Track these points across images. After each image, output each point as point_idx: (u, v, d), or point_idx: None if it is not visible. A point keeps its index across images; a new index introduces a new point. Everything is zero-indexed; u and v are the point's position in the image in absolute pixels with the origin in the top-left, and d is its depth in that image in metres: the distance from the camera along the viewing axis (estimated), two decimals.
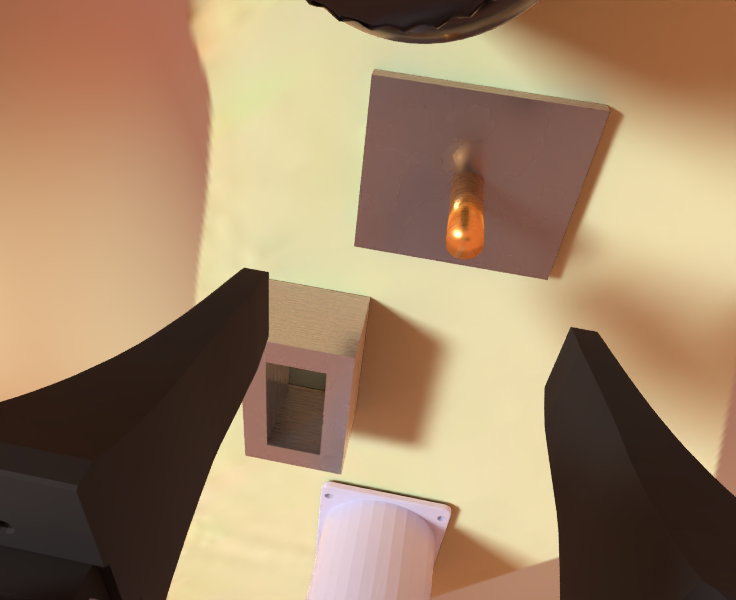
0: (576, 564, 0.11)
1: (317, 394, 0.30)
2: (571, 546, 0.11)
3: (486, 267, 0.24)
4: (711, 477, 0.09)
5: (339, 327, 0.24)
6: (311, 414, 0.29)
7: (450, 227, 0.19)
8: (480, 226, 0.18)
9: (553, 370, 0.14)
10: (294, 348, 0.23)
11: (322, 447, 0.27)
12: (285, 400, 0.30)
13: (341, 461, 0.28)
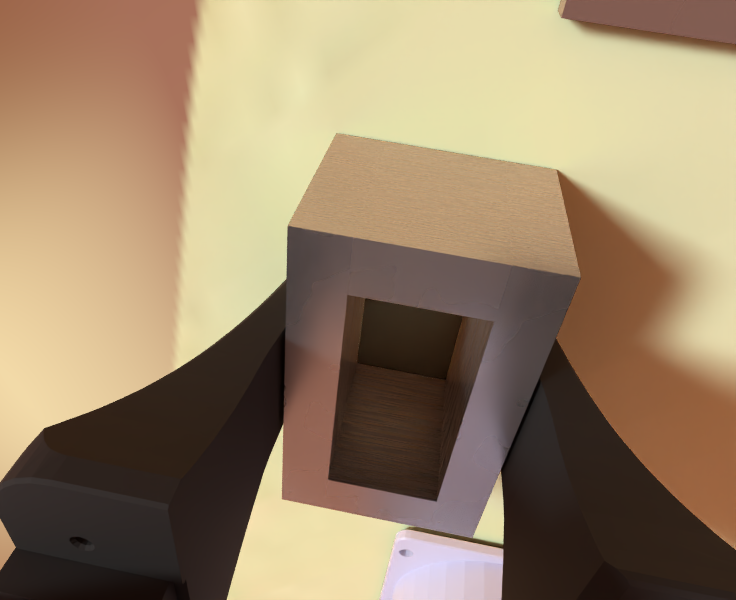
0: (515, 551, 0.11)
1: (411, 381, 0.16)
2: (513, 534, 0.11)
3: None
4: (639, 463, 0.09)
5: (516, 217, 0.11)
6: (406, 418, 0.15)
7: None
8: None
9: None
10: (424, 256, 0.09)
11: (445, 487, 0.13)
12: (354, 392, 0.16)
13: (479, 514, 0.14)
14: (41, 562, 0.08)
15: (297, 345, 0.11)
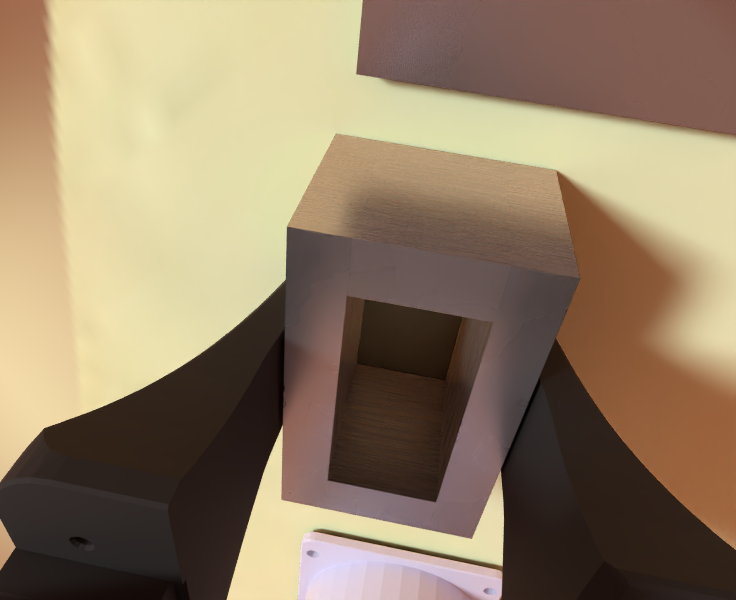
0: (515, 551, 0.11)
1: (410, 382, 0.16)
2: (512, 534, 0.11)
3: (643, 115, 0.11)
4: (638, 463, 0.09)
5: (515, 217, 0.11)
6: (405, 419, 0.15)
7: None
8: None
9: None
10: (424, 257, 0.09)
11: (444, 487, 0.13)
12: (353, 392, 0.16)
13: (479, 515, 0.14)
14: (41, 562, 0.08)
15: (296, 346, 0.11)
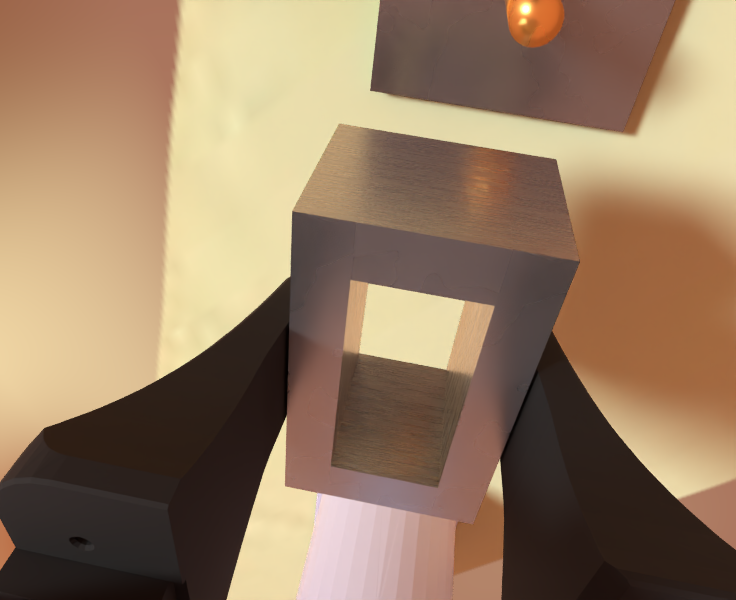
0: (515, 551, 0.11)
1: (412, 371, 0.17)
2: (513, 534, 0.11)
3: (542, 115, 0.18)
4: (639, 463, 0.09)
5: (516, 204, 0.11)
6: (407, 407, 0.16)
7: None
8: None
9: None
10: (426, 241, 0.10)
11: (446, 473, 0.13)
12: (356, 381, 0.16)
13: (480, 500, 0.14)
14: (41, 562, 0.08)
15: (301, 331, 0.11)
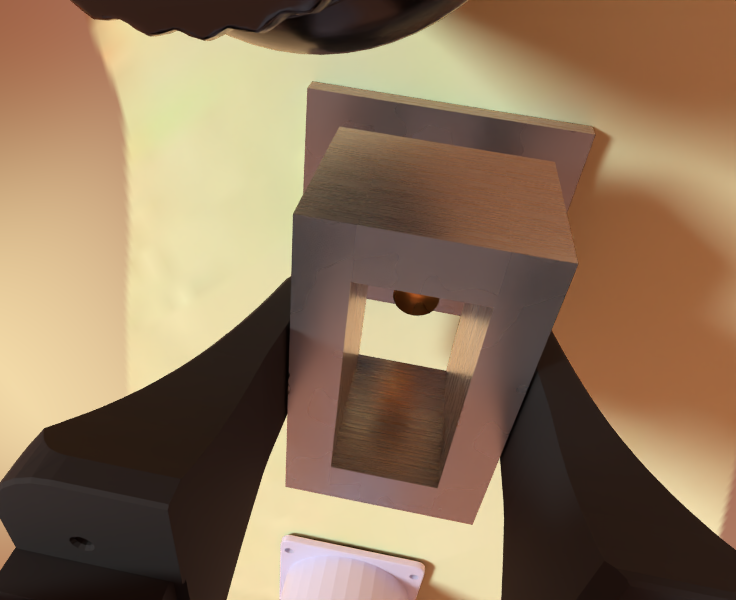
0: (515, 551, 0.11)
1: (412, 372, 0.17)
2: (512, 534, 0.11)
3: (452, 312, 0.20)
4: (638, 463, 0.09)
5: (515, 206, 0.11)
6: (407, 408, 0.16)
7: None
8: None
9: None
10: (426, 243, 0.10)
11: (446, 473, 0.13)
12: (356, 382, 0.16)
13: (479, 500, 0.14)
14: (41, 562, 0.08)
15: (302, 332, 0.11)
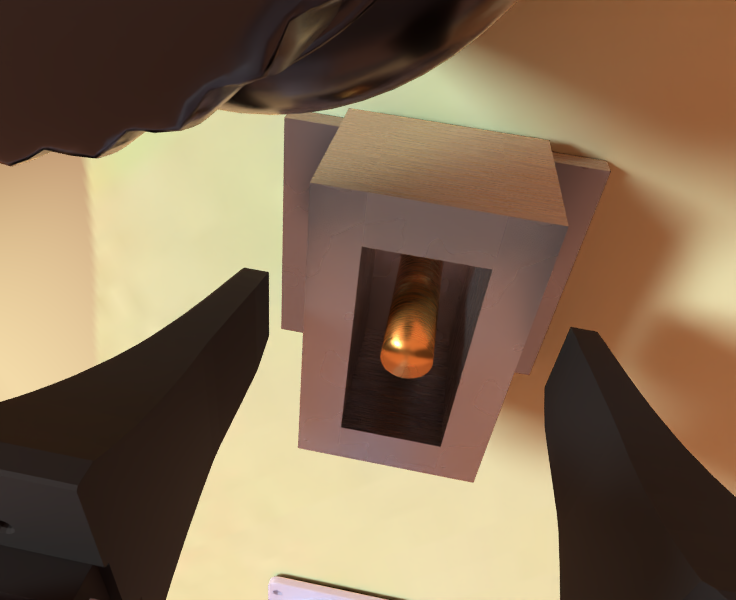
0: (576, 564, 0.11)
1: None
2: (571, 546, 0.11)
3: None
4: (711, 477, 0.09)
5: (512, 178, 0.12)
6: None
7: (387, 335, 0.13)
8: (429, 334, 0.13)
9: (553, 370, 0.14)
10: (430, 209, 0.11)
11: (448, 432, 0.14)
12: (363, 353, 0.17)
13: (479, 458, 0.15)
14: None
15: (316, 296, 0.12)
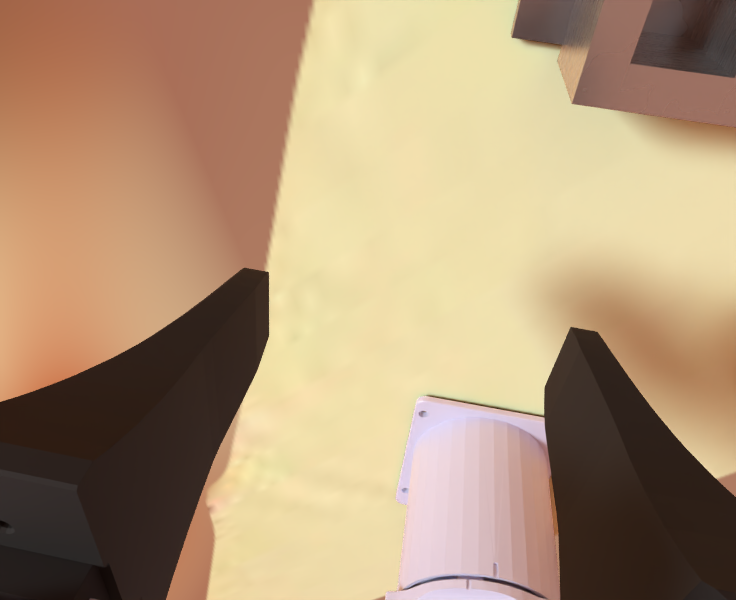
0: (576, 564, 0.11)
1: (660, 35, 0.17)
2: (571, 546, 0.11)
3: None
4: (711, 477, 0.09)
5: None
6: (672, 48, 0.16)
7: None
8: None
9: (553, 370, 0.14)
10: None
11: None
12: None
13: None
14: None
15: None
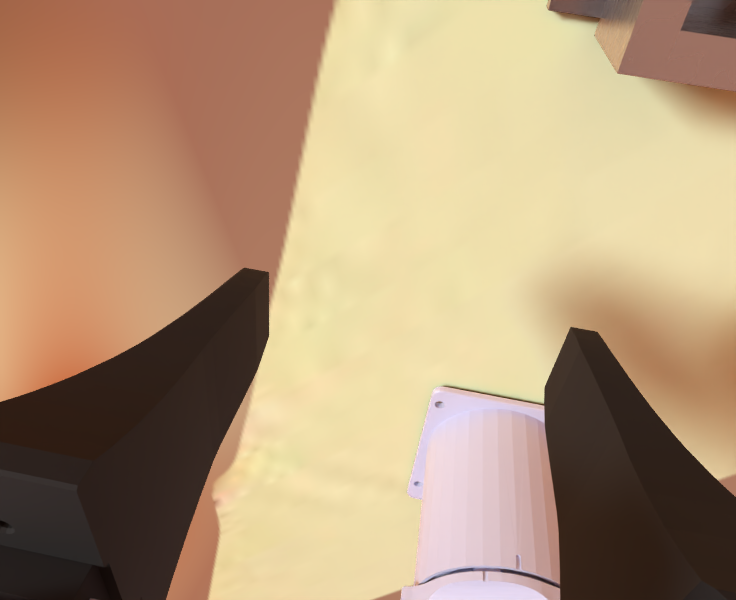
0: (576, 564, 0.11)
1: (703, 8, 0.17)
2: (571, 546, 0.11)
3: None
4: (711, 477, 0.09)
5: None
6: (718, 19, 0.16)
7: None
8: None
9: (553, 370, 0.14)
10: None
11: None
12: None
13: None
14: None
15: None
